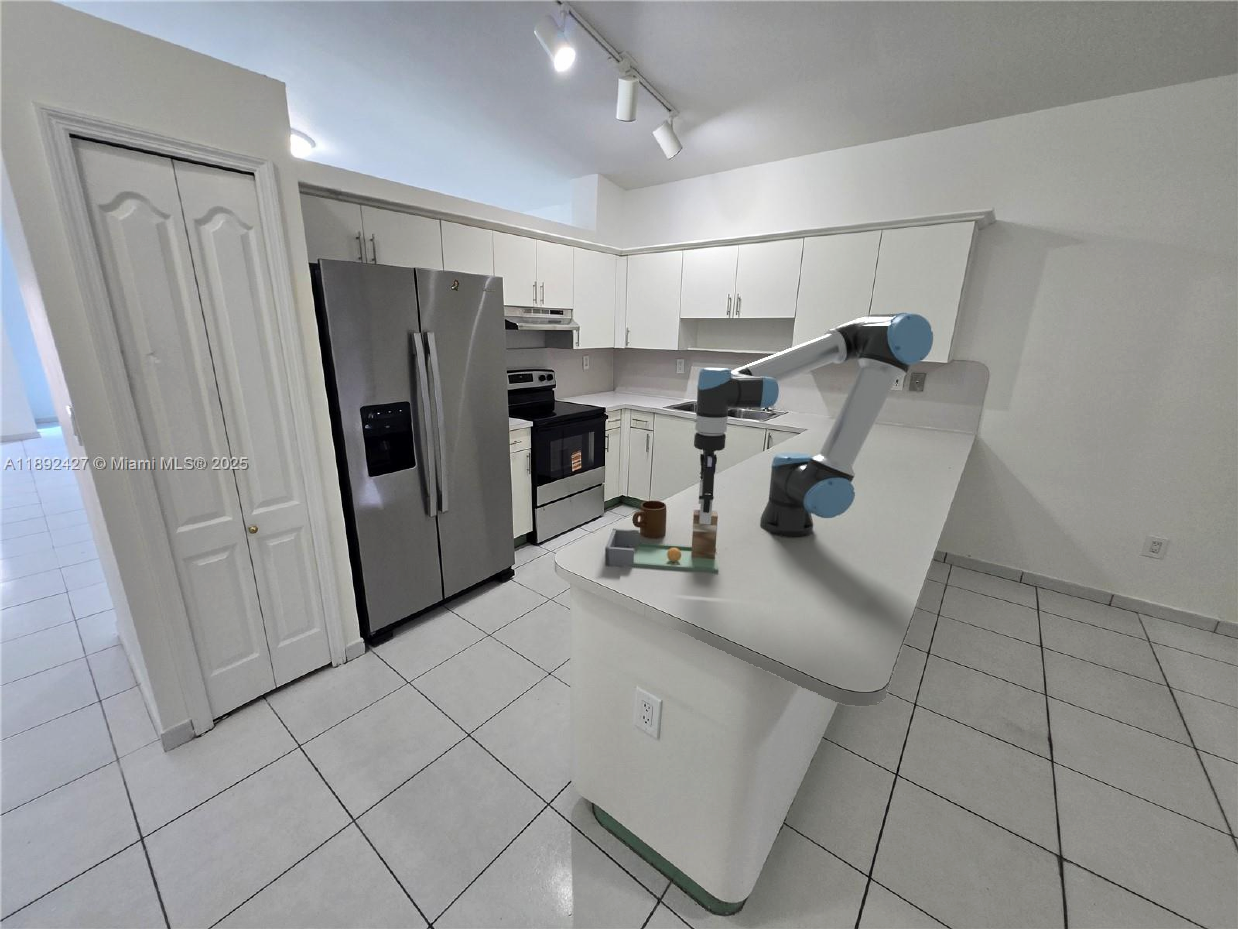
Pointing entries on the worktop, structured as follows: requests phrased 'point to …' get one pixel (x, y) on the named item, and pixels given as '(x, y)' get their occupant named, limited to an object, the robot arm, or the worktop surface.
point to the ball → (674, 554)
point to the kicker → (704, 536)
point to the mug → (651, 519)
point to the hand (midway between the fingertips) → (704, 513)
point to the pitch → (651, 554)
